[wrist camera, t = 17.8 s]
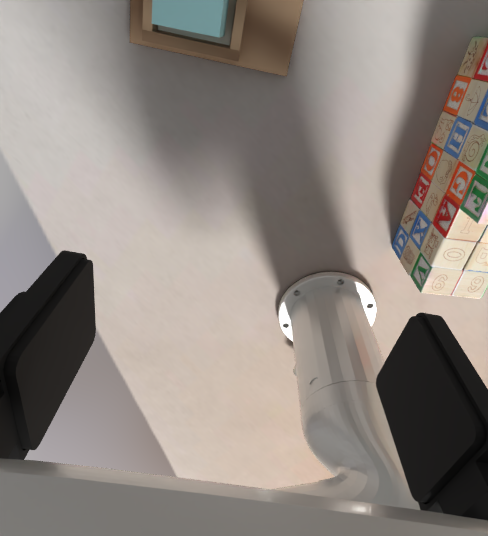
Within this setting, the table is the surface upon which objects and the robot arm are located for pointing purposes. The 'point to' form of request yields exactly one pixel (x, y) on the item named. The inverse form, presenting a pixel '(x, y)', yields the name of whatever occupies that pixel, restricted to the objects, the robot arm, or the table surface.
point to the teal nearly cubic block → (192, 15)
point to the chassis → (229, 34)
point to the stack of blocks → (452, 192)
